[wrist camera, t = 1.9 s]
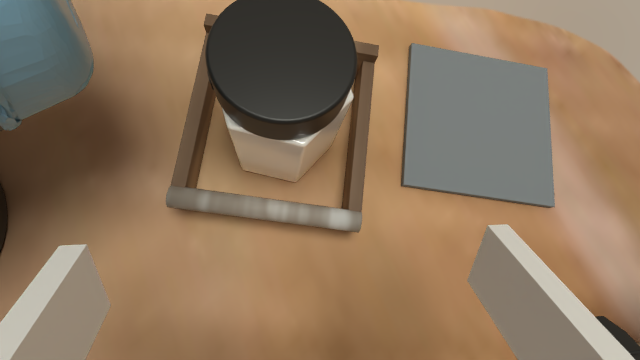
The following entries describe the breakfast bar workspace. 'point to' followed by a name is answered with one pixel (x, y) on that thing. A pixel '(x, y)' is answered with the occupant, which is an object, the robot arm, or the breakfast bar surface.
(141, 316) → the breakfast bar surface
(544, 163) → the mat
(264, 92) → the jar
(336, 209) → the jar holder
